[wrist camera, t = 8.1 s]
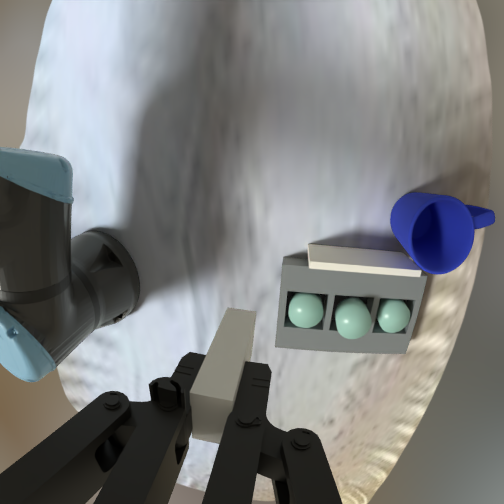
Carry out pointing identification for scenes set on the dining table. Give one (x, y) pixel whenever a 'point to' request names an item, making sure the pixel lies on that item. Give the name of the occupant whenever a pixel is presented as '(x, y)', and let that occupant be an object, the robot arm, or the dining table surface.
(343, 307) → the button middle
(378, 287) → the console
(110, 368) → the dining table surface
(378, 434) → the dining table surface
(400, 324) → the button right
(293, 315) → the button left
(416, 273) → the pattern card
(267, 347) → the dining table surface
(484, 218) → the mug
